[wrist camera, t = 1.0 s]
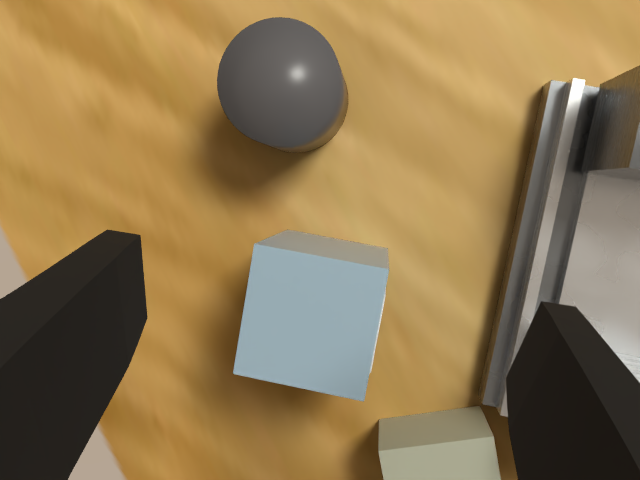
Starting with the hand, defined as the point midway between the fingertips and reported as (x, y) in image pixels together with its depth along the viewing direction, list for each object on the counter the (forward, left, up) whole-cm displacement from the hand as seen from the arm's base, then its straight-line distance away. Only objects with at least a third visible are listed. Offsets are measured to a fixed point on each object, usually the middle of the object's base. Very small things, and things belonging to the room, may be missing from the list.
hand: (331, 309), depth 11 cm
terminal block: (-8, -5, -12) cm, 15 cm away
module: (-2, +1, -12) cm, 12 cm away
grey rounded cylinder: (+5, +3, -12) cm, 14 cm away
